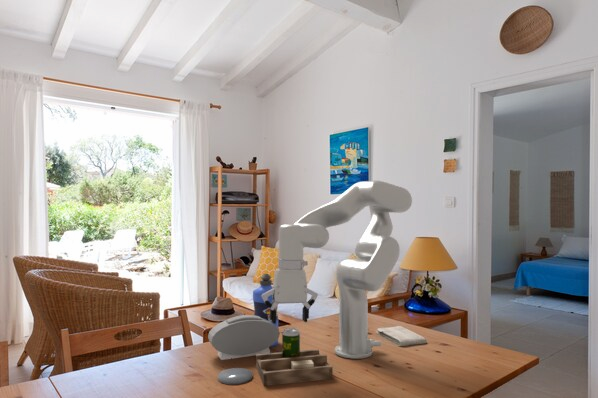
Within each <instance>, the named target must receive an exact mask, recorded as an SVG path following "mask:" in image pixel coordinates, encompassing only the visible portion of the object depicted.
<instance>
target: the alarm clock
mask: <svg viewBox="0 0 598 398" xmlns="http://www.w3.org/2000/svg"><path fill="white" fill-rule="evenodd" d="M280 333H281V332H280V330H279V327H278V328H277V327H276V326H275V325H274V324H272V323H271V322H270V321H268V320H266V319H263V318H261V317H259V316H255V315H254V314H240V315H236V316H233V317H230V318H228V319H225V320H223V321H221V322H218V323H217V324H215V326H213V327H212V328H211V329H210V330H209V332H208V335H207V339H208V341H209V343H210V344H211V346H212V348H214V349H215V350H216V351H217V352H218V353H217V356H218V357H219V359H220V361H224V360H231V358H232V359H238V358H244V357H245V358H246V357H252V356H256V354H267V353H271V350H270V348H271V347H270V346H271V345H273V344H274V343H275V342H276V341H277V340H278V341H279V338H280Z"/></svg>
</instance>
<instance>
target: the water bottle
mask: <svg viewBox="0 0 598 398" xmlns="http://www.w3.org/2000/svg"><path fill="white" fill-rule="evenodd" d="M271 278H272V276H271V275H270V274H269V273H263V274H262V275H261V276H260V279H261V280H259V283H260V284H259V285H260V286H259V287H257V288H256V289H253V290H252V301H253V308H254V314H253V315H255V316H259V317H261V318H263V319H266V320H268V321H270V322H271V323H272V324H273V322H272V320H270V308H269V307H268V306H267V305H266V304H265V302H264V300H263V298H262V294H264V293H265V292H267V291H269V290H271V289H273V283H272V282H273V279H271ZM268 301H269V302H270V303H272V301H273V298H272V295H270V296H268ZM278 305H279V304H278ZM278 305H277V307H276V308H275V310H276V323H275V324H274V325H275V326H276V327H277V328H278V329H279V315H278ZM278 345H279V339H278V340H277V341H276V342H275V343H274V344H273V345H271V346H270V347H269V348H273V347H277V346H278Z"/></svg>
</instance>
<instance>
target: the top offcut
mask: <svg viewBox="0 0 598 398" xmlns="http://www.w3.org/2000/svg"><path fill="white" fill-rule="evenodd" d="M308 367H314V363H313V362H312V360H303V361H291V369H298V368H308Z"/></svg>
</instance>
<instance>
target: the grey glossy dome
mask: <svg viewBox="0 0 598 398" xmlns="http://www.w3.org/2000/svg"><path fill="white" fill-rule="evenodd" d="M253 377H254V376H253V371H251V370H250V369H247V368H243V367H233V368H226V369H223V370H221V371H220V372H218V374H217V381H218V382H220V383H222V384H225V385H241V384H242V385H243V384H245V383H247V382H249V381H251V380H252V379H253Z"/></svg>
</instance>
